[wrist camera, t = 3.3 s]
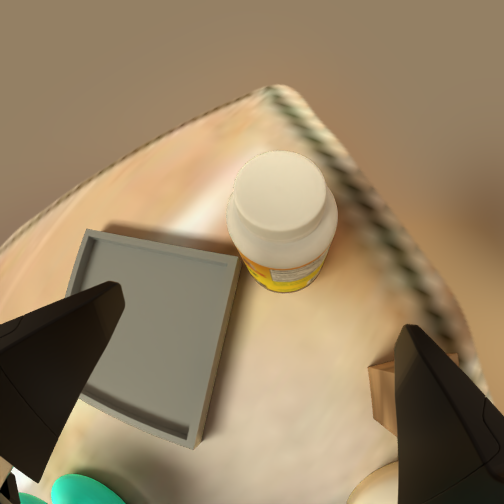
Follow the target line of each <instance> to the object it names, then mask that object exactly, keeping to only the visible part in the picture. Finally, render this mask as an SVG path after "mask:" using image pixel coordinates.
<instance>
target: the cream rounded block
mask: <svg viewBox="0 0 504 504" xmlns="http://www.w3.org/2000/svg"><path fill="white" fill-rule="evenodd" d="M346 504H398V461H397V462H393V463H390V464H388V465H386V466H383V467H382V468H380V469H378V470H376V471H375V472H373V473H371V474H370V475H369V476H367V477H366V478H365V479H364V480H363V481H361V482H360V484H359V485H358V486H357V487H356V488H355V489H354V490H353V492H352V493H351V495H350V496H349V499H348V501H347V503H346Z"/></svg>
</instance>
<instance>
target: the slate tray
mask: <svg viewBox="0 0 504 504" xmlns="http://www.w3.org/2000/svg"><path fill="white" fill-rule="evenodd" d="M241 267H242V263H241V261H240V259H239V257H236V256H231V255H225V254H220V253H214V252H209V251H203V250H198V249H192V248H187V247H181V246H176V245H171V244H165V243H160V242H154V241H149V240H144V239H138V238H133V237H128V236H122V235H117V234H112V233H106V232H101V231H96V230H90V229H86V231H85V234H84V237H83V240H82V242H81V245H80V248H79V251H78V254H77V258H76V261H75V264H74V267H73V270H72V274H71V277H70V281H69V284H68V288H67V291H66V295H65V298H66V297H69V296H71V295H74V294H76V293H79V292H81V291H84V290H86V289H89V288H91V287H94V286H96V285H99V284H101V283H104V282H106V281H115V282H118V283H120V285H121V287H122V291H123V295H124V299H125V309H124V311H123V313H122V315H121V318H120V320H119V322H118V324H117V326H116V328H115V330H114V333H113V335H112V337H111V339H110V341H109V343H108V345H107V347H106V349H105V351H104V352H103V354H102V356H101V358H100V359H99V361H98V363H97V365H96V367H95V368H94V370H93V372H92V374H91V376H90V377H89V379H88V381H87V383H86V385H85V387H84V389H83V390H82V392H81V394H80V396H79V399H81V400H82V401H84V402H86V403H88V404H89V405H91V406H93V407H95V408H97V409H99V410H100V411H102V412H104V413H106V414H108V415H110V416H112V417H114V418H116V419H118V420H120V421H122V422H124V423H127V424H129V425H131V426H133V427H135V428H138V429H140V430H142V431H144V432H147V433H149V434H152V435H154V436H156V437H159V438H162V439H164V440H167V441H169V442H172V443H175V444H177V445H180V446H183V447H186V448H189V449H192V450H194V449H195V448H196V447H197V446H198V445H199V444H200V443H201V440H202V435H203V431H204V426H205V422H206V418H207V413H208V409H209V404H210V400H211V396H212V391H213V387H214V383H215V378H216V374H217V370H218V365H219V361H220V357H221V352H222V348H223V344H224V339H225V335H226V331H227V326H228V322H229V318H230V314H231V309H232V305H233V301H234V297H235V292H236V288H237V284H238V280H239V275H240V271H241Z"/></svg>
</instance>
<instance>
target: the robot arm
mask: <svg viewBox="0 0 504 504" xmlns="http://www.w3.org/2000/svg"><path fill="white" fill-rule="evenodd" d="M124 309H125V299H124V295H123V291H122V287H121V285H120V283H118V282H115V281H106V282H104V283H101V284H99V285H96V286H94V287H91V288H89V289H86V290H84V291H81V292H79V293H76V294H74V295H71V296H69V297H66V298H64V299H61V300H59V301H56V302H54V303H52V304H49V305H47V306H44V307H42V308H39V309H37V310H35V311H32V312H30V313H27V314H25V315H24V316H20V317H18V318H16V319H13V320H11V321H8V322H6V323H3V324H0V504H21V502H20V498H19V493H18V489H17V484H16V479H15V475H14V474H13V473H12V472H11V470H12V469H13V467H15V468H16V469H18V470H19V471H20V472H22V473H23V474H25V475H26V476H28V477H29V478H30V479H32V480H33V481H35V482H36V483H39V481H40V480H41V477H42V475H43V472H44V470H45V468H46V465H47V463H48V461H49V458H50V456H51V454H52V452H53V450H54V447H55V445H56V443H57V441H58V438H59V436H60V434H61V432H62V430H63V428H64V426H65V424H66V422H67V420H68V418H69V416H70V414H71V412H72V410H73V408H74V406H75V404H76V402H77V400H78V398H79V396H80V394H81V392H82V390H83V389H84V387H85V385H86V383H87V381H88V379H89V377H90V376H91V374H92V372H93V370H94V368H95V367H96V365H97V363H98V361H99V359H100V358H101V356H102V354H103V352H104V351H105V349H106V347H107V345H108V343H109V341H110V339H111V337H112V335H113V333H114V330H115V328H116V326H117V324H118V322H119V320H120V318H121V315H122V313H123V311H124ZM394 394H395V407H396V421H397V438H398V504H504V416H503V415H502V414H501V413H500V411H498V409H497V408H496V407H495V406H494V405H493V404H492V403H491V401H490V400H489V399H488V398H487V397H485V395H484V394H483V393H482V391H481V390H480V389H479V388H478V387H477V386H476V385H475V384H474V383H473V382H472V380H471V379H470V378H469V377H468V376H467V375H466V374H465V373H464V372H463V371H462V370H461V369H460V368H459V367H458V366H457V365H456V363H455V362H454V361H453V360H452V359H451V358H450V357H449V356H448V355H447V354H446V353H445V352H444V351H443V350H442V349H441V348H440V347H439V346H438V345H437V344H436V343H435V342H434V341H433V340H432V339H431V338H430V337H429V336H428V335H427V334H426V333H425V332H424V331H423V330H422V329H421V328H420V327H419V326H418V325H412V324H406V325H404V326H403V328H402V330H401V333H400V335H399V337H398V339H397V342H396V344H395V348H394Z"/></svg>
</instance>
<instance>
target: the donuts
mask: <svg viewBox="0 0 504 504" xmlns="http://www.w3.org/2000/svg"><path fill="white" fill-rule="evenodd" d="M19 498H20V502H21V504H48V503H46V502H44V501H43V500H41V499H39V498H37V497H35V496H32V495H30V494H26V493H21V492H20V493H19ZM51 498H52V503H53V504H126V503H125V502H124V501H123V500H122V499H121V498H120V497H119V496H118V495H117V494H115V493H114V492H113V491H112V490H110V489H109V488H108V487H106V486H105V485H103V484H101V483H100V482H98V481H96V480H94V479H92V478H90V477H87V476H83V475H79V474H67V475H64V476H61V477H60V478H58V479H57V480H56V481H55V483H54V485H53V487H52V492H51Z"/></svg>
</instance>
